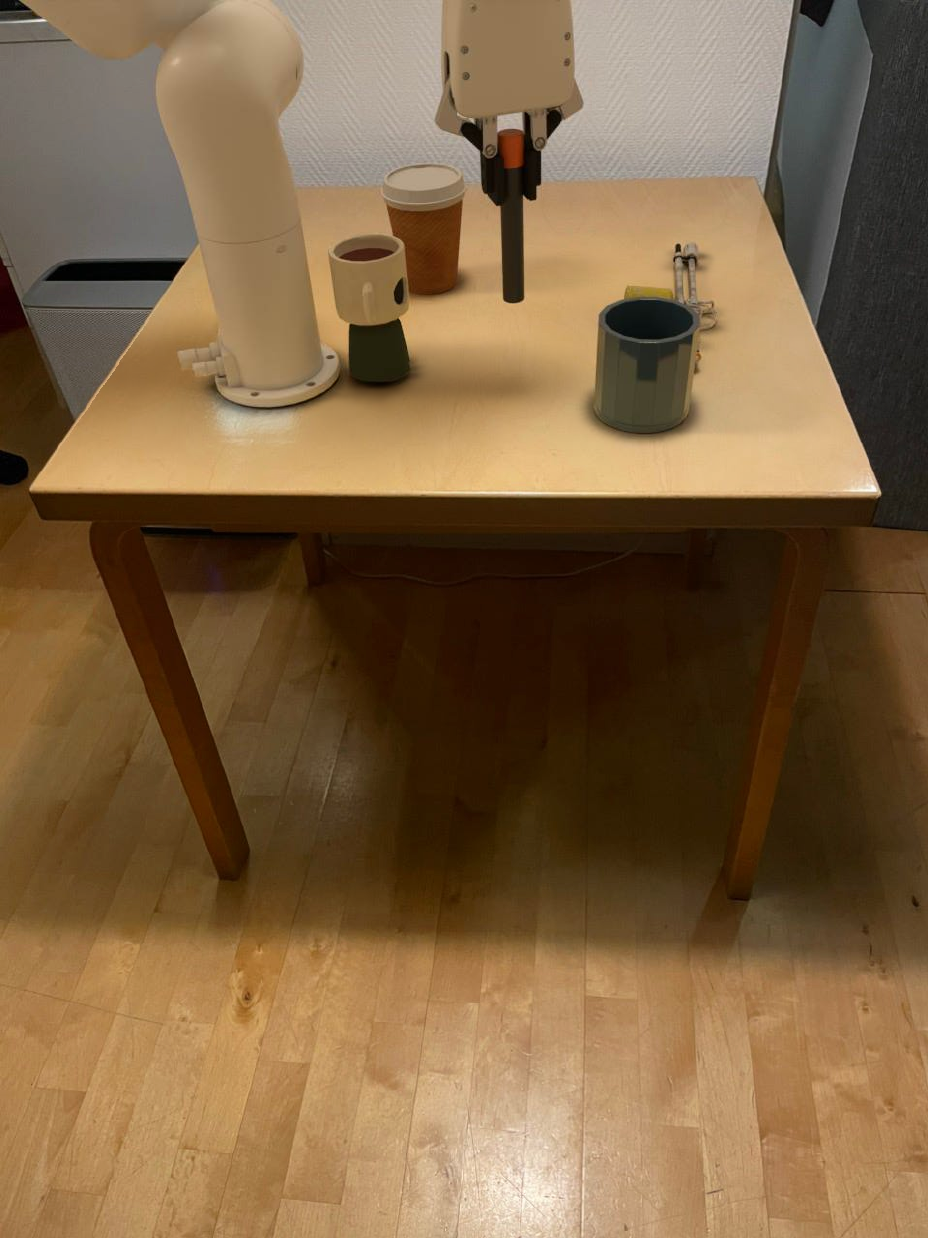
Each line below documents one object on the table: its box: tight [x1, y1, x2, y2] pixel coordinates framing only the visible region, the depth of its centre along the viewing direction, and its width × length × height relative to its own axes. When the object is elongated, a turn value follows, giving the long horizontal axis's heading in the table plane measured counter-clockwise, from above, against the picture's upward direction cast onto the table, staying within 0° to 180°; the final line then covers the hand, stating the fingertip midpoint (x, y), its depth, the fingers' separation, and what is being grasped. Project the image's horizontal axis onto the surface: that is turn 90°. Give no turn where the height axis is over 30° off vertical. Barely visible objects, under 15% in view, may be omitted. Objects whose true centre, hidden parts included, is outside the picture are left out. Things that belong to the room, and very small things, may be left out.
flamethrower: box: [623, 241, 719, 363], centre depth 105 cm, size 29×3×10 cm
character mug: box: [327, 232, 411, 383], centre depth 94 cm, size 11×7×13 cm, turn 3°
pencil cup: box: [593, 297, 701, 434], centre depth 89 cm, size 9×9×9 cm
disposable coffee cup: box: [379, 162, 468, 295], centre depth 110 cm, size 10×10×12 cm
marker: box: [497, 128, 525, 304], centre depth 86 cm, size 2×2×14 cm
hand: (511, 196), depth 84 cm, fingers closed on marker, 2 cm apart
